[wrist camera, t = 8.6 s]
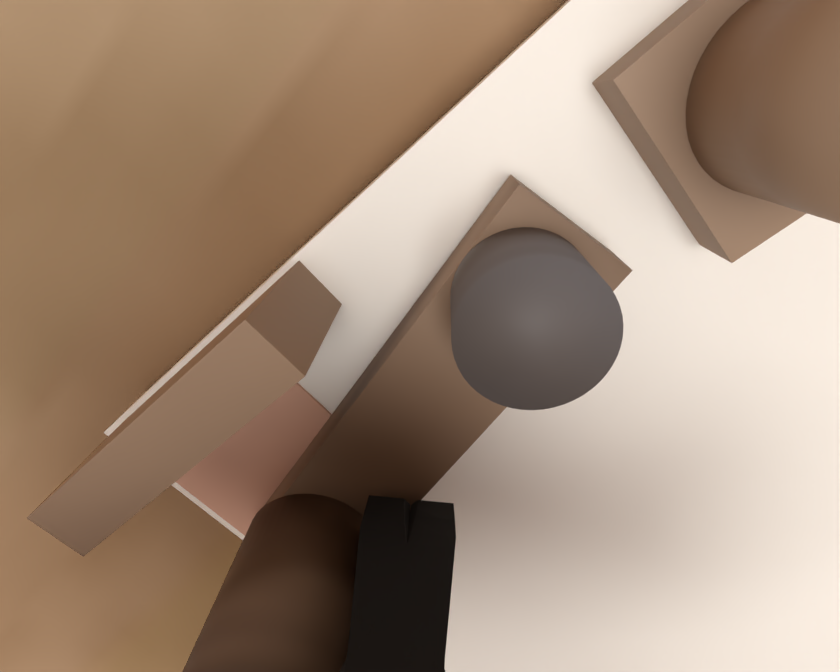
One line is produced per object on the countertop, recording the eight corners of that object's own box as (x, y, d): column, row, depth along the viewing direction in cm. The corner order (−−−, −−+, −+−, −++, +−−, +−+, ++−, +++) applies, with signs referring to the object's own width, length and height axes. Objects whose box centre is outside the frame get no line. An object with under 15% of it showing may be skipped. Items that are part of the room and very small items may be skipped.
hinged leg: (500, 166, 8) (551, 227, 4) (620, 258, 8) (766, 388, 4) (245, 514, 11) (142, 728, 7) (344, 565, 11) (295, 790, 7)
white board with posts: (1106, 596, 13) (1540, 921, 8) (612, 777, 17) (682, 1062, 12) (739, -159, 7) (1425, -761, 2) (144, 392, 11) (-91, 621, 6)
